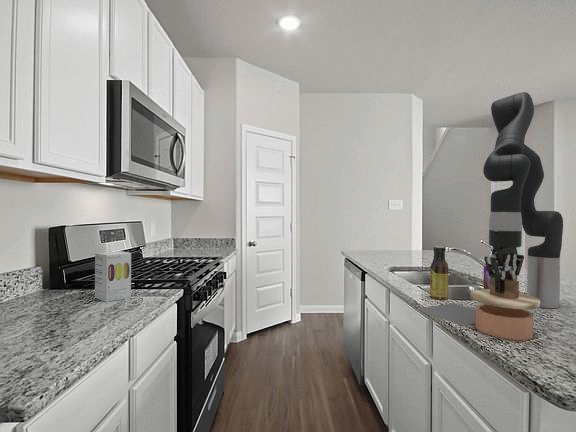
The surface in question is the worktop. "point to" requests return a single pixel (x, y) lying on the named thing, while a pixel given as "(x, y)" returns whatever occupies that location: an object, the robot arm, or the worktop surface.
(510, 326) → the bowl
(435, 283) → the sauce bottle
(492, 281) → the lid
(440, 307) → the mat
